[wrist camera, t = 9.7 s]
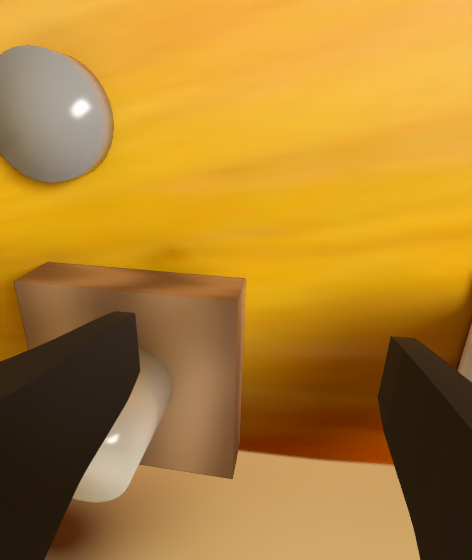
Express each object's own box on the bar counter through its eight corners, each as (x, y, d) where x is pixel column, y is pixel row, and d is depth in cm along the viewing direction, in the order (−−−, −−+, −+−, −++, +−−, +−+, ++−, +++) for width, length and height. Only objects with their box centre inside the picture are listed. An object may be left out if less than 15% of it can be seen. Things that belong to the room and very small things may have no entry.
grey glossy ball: (109, 52, 18) (91, 45, 17) (120, 180, 21) (105, 185, 19) (-4, 51, 19) (-33, 45, 18) (19, 174, 22) (-4, 179, 20)
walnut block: (245, 278, 21) (237, 302, 19) (239, 441, 26) (232, 479, 23) (47, 262, 23) (13, 281, 20) (75, 418, 28) (50, 450, 25)
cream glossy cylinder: (175, 355, 20) (132, 431, 15) (169, 425, 22) (129, 513, 17) (87, 335, 21) (18, 403, 16) (89, 406, 23) (28, 486, 18)
